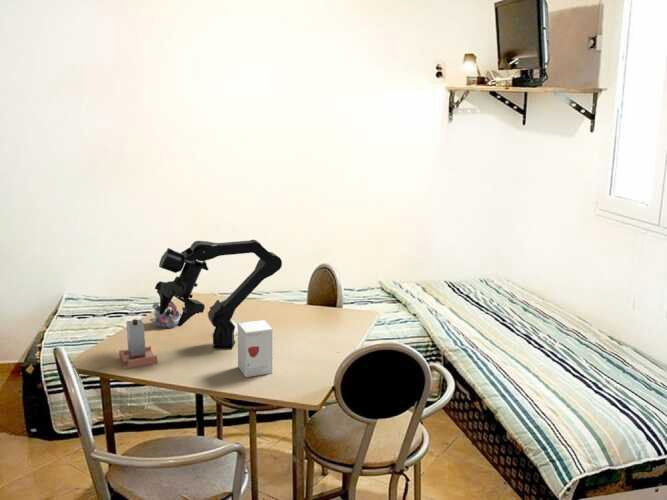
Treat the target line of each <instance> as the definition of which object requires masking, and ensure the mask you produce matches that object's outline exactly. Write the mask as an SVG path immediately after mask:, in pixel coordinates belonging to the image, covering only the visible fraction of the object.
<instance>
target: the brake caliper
mask: <svg viewBox="0 0 667 500" xmlns="http://www.w3.org/2000/svg"><path fill="white" fill-rule="evenodd" d="M151 307H152V308H153V310H154V313H153V314H154V317H155V318H154V317H153V318H152V317H151V318H149V321H150V322H152V323H153V324H154V325H155V326H156V327H157V328H161V329H164V328H166V329H174V328H176V327H178V323H179V320H180V318H181V315H182V313H180V311H179V310H177V306H176V304H175V303H174V302H173V300H171V302H170V303H169V305H168V307H167V308H166V310H165V311H164V313H163V314H162V315H160V314H159V311H160V302H157V301H156V302H155V301H153V304H152V305H151Z"/></svg>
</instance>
